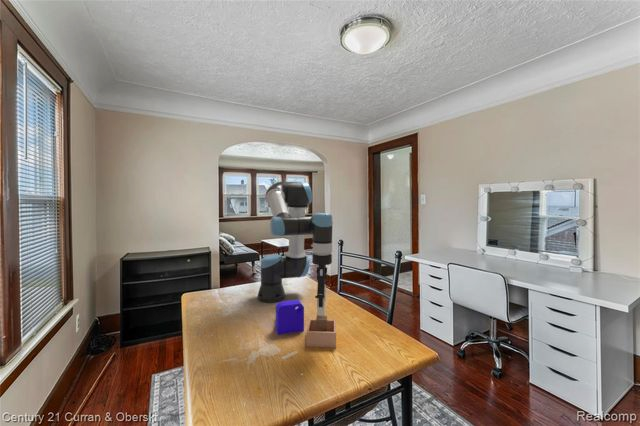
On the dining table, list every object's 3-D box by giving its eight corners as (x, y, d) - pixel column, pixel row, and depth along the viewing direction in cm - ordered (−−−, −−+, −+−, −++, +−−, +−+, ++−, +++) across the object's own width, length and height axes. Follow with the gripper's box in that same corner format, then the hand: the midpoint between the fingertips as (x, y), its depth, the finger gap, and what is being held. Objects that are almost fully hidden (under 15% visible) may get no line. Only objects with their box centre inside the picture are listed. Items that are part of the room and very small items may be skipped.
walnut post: (316, 335, 107) (317, 315, 107) (326, 335, 107) (327, 315, 106) (316, 340, 103) (316, 319, 103) (326, 340, 103) (326, 320, 102)
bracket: (303, 331, 112) (304, 303, 112) (277, 335, 109) (277, 306, 108) (293, 314, 129) (293, 289, 129) (270, 317, 125) (270, 292, 125)
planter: (308, 332, 111) (308, 319, 110) (335, 333, 110) (335, 319, 110) (306, 346, 100) (306, 332, 100) (335, 347, 99) (336, 333, 99)
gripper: (314, 247, 116) (314, 295, 117) (309, 260, 91) (309, 321, 93) (332, 247, 116) (331, 295, 117) (331, 261, 91) (330, 322, 92)
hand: (321, 307), depth 105 cm, fingers open, 13 cm apart
